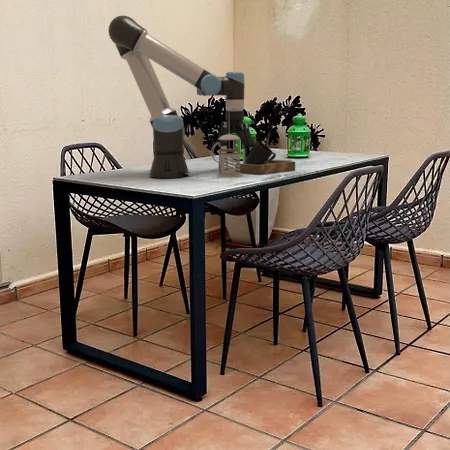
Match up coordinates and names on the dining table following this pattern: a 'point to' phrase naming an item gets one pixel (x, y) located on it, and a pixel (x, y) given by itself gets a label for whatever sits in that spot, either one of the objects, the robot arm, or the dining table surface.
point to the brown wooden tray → (268, 167)
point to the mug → (259, 154)
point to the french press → (224, 170)
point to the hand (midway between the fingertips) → (234, 163)
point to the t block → (280, 160)
